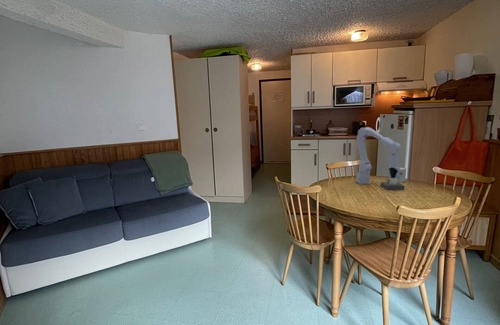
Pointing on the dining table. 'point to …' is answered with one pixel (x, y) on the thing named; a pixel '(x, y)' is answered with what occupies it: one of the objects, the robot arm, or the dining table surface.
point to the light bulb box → (400, 175)
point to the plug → (392, 181)
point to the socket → (392, 186)
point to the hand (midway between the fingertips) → (392, 177)
